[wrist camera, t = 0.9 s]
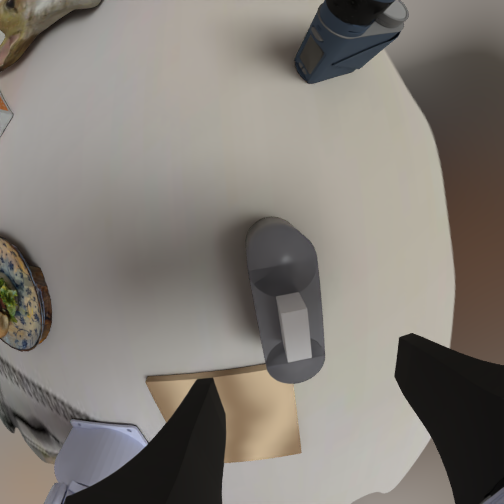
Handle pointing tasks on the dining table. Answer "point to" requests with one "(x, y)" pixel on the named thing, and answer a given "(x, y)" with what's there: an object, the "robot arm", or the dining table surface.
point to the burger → (22, 301)
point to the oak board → (241, 410)
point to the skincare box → (4, 114)
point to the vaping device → (348, 36)
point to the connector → (286, 299)
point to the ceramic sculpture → (30, 23)
